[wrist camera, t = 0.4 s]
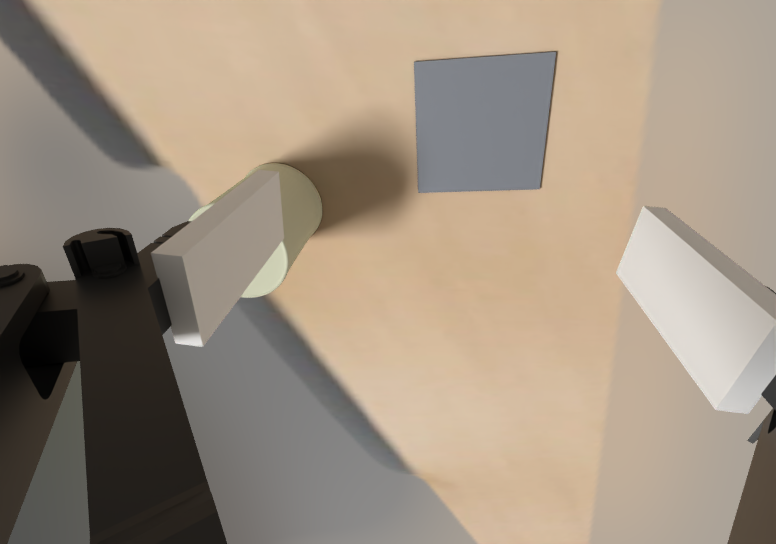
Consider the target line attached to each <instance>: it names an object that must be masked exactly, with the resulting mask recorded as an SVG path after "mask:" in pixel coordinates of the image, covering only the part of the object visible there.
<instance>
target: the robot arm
mask: <svg viewBox="0 0 776 544" xmlns="http://www.w3.org/2000/svg"><path fill="white" fill-rule="evenodd" d="M283 239H284V230H283V217H282V205H281V192H280V179H279V172H277V171H266V170H258V171H257V172H255V173H254V174H253V175H251V176H250V177H249V178H248V179H246V180H245V181H244V182H242V183H241V184H240V185H238V186H237V187H236V188H235V189H233V190H232V191H231V192H229V193H228V194H227V195H225V196H224V197H223V198H222V199H220V200H219V201H218V202H216V203H215V204H214V205H212V206H211V207H210V208H209V209H207V210H206V211H205V212H203V213H202V214H201V215H199V216H198V217H197V218H196V219H194V220H193V221H187V222H185V223H182V224H180V225H177V226H175V227H172V228H171V229H170V230H168V231H167V232H166V233H164V234H163V235H162V237H159V238H158V239H156V240H155V241H154V243H151V244H149V245H148V246H147V247H145V248H144V249H143V250H141V251H140V252H139V253H137V251H136V248H135V245H134V241H133V238H132V235H131V233H130V232H129V231H127V230H124V229H120V228H103V229H95V230H91V231H86V232H83V233H80V234H78V235H75V236H73V237H71V238H70V239H68V240H67V241H66V242H65V243H64V245H63V248H64V250H65V253H66V255H67V258H68V261H69V263H70V266H71V268H72V271H73V273H74V276H75V279H76V280H70V281H57V282H56V281H55V282H47V281H46V279H45V277H44V275H43V272H42V270H41V269H40V268H39V267H38V266H35V265H30V264H15V265H9V266H8V265H4V266H0V544H7V543H8V540H9V537H10V535H11V532H12V530H13V527H14V524H15V522H16V519H17V517H18V514H19V512H20V509H21V506H22V504H23V501H24V498H25V496H26V493H27V491H28V488H29V486H30V483H31V480H32V478H33V475H34V472H35V470H36V467H37V465H38V462H39V459H40V457H41V454H42V452H43V449H44V447H45V444H46V441H47V439H48V436H49V434H50V431H51V428H52V426H53V423H54V420H55V418H56V415H57V413H58V410H59V408H60V405H61V402H62V400H63V397H64V395H65V392H66V389H67V387H68V384H69V381H70V378H71V376H72V374H73V371H74V368H75V366H76V363H77V361H80V366H81V367H80V368H81V386H82V402H83V419H84V420H83V421H84V439H85V456H86V474H87V491H88V509H89V525H90V526H89V527H90V544H227V542H226V538H225V535H224V532H223V529H222V525H221V522H220V519H219V516H218V512H217V509H216V506H215V503H214V500H213V497H212V494H211V492H210V488H209V485H208V482H207V479H206V476H205V472H204V469H203V466H202V463H201V459H200V457H199V453H198V450H197V447H196V443H195V440H194V437H193V433H192V430H191V427H190V424H189V421H188V418H187V414H186V411H185V408H184V405H183V401H182V398H181V395H180V391H179V388H178V385H177V382H176V379H175V375H174V372H173V369H172V366H171V362H170V359H169V356H168V353H167V349H166V346H165V343H164V340H163V336H162V335H163V334H164V333H165V332H166V331H167V329H168V328H169V327H170V326H171V329H172V333H173V336H174V340H175V343H177V344H184V345H192V346H201V347H203V346H204V345H205V343H206V342H207V341H208V339H209V338H210V337H211V335H212V334H213V333H214V331H215V330H216V329H217V327H218V326H219V325H220V323H221V322H222V321H223V319H224V318H225V317H226V315H227V314H228V313H229V311H230V310H231V309H232V307H233V306H234V305H235V303H236V302H237V301H238V299H239V298H240V297H241V295H242V294H243V293H244V291H245V290H246V289H247V287H248V286H249V285H250V283H251V282H252V281H253V279H254V278H255V277H256V275H257V274H258V273H259V271H260V270H261V269H262V267H263V266H264V265H265V263H266V262H267V261H268V259H269V258H270V257H271V255H272V254H273V253H274V251H275V250H276V249H277V247H278V246H279V245H280V243H281V242H282V241H283ZM616 274H617V275H618V276H619V278H620V279H621V281H622V282H623V283H624V285H625V286H626V287H627V289H628V290H629V291H630V293H631V294H632V296H633V297H634V298H635V300H636V301H637V302H638V304H639V305H640V307H641V308H642V309H643V311H644V312H645V314H646V315H647V316H648V318H649V319H650V320H651V322H652V323H653V324H654V326H655V327H656V329H657V330H658V331H659V333H660V334H661V335H662V337H663V338H664V340H665V341H666V342H667V344H668V345H669V346H670V347H671V349H672V350H673V352H674V353H675V355H676V356H677V358H678V359H679V360H680V361H681V363H682V364H683V366H684V367H685V369H686V370H687V371H688V373H689V374H690V375H691V377H692V378H693V379H694V381H695V382H696V384H697V385H698V386H699V388H700V389H701V391H702V392H703V393H704V394H705V396H706V397H707V399H708V400H709V402H710V403H711V404H712V405H713V407H714V408H715V410H721V411H729V412H737V413H746V414H748V413H749V412H750V411H751V409H752V408H753V407H754V405H755V404H756V403H757V402H758V400H759V399H760V398H761V396H763V397H764V398H765V399H766V400H767V401H768V403H769V404H770V405H771V406H772V407H773V409H772V410H771V412H770V413H769V414H768V416H767V417H766V418H765V419H764V420H763V422H762V423H761V424H760V425H759V427H758V428H757V429H756V431H755V432H754V433H753V434H752V435H751V437H750V438H749V439H748V441H749V442H751V443H754V442H755V441H756V440H758V442H757V445H756V449H755V452H754V455H753V459H752V462H751V466H750V469H749V472H748V476H747V479H746V483H745V486H744V490H743V493H742V496H741V500H740V503H739V507H738V510H737V513H736V517H735V520H734V523H733V527H732V530H731V534H730V537H729V540H728V544H776V293H775V292H774V291H773V290H771V289H770V288H768V287H766V286H765V285H763V284H762V283H761V282H759V281H758V280H757V279H756V278H754V277H753V276H752V275H751V274H749V273H748V272H747V271H745V270H744V269H743V268H742V267H740V266H739V265H737V264H736V263H735V262H734V261H733V260H731V259H730V258H729V257H728V256H726V255H725V254H724V253H723V252H721V251H720V250H719V249H717V248H716V247H715V246H714V245H712V244H711V243H710V242H708V241H707V240H706V239H705V238H703V237H702V236H701V235H699V234H698V233H697V232H696V231H694V230H693V229H692V228H691V227H689V226H688V225H687V224H685V223H684V222H683V221H682V220H680V219H679V218H678V217H676V216H675V215H674V214H673V213H671V212H670V211H669V210H668V209H666V208H660V207H649V206H643V208H642V210H641V213H640V215H639V218H638V220H637V223H636V225H635V227H634V230H633V232H632V235H631V237H630V240H629V242H628V245H627V247H626V250H625V252H624V254H623V257H622V259H621V262H620V264H619V267H618V269H617V272H616Z"/></svg>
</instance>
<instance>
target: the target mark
mask: <svg viewBox="0 0 776 544" xmlns="http://www.w3.org/2000/svg"><path fill="white" fill-rule="evenodd" d="M555 57H556V52H545V53H531V54H517V55H503V56H489V57H475V58H461V59H447V60H433V61H418V62H414V75H415V106H416V136H417V167H418V193H429V192H462V191H496V190H530V189H540V182H541V174H542V165H543V157H544V149H545V140H546V132H547V124H548V116H549V107H550V99H551V91H552V82H553V74H554V66H555Z"/></svg>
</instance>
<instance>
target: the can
mask: <svg viewBox="0 0 776 544" xmlns="http://www.w3.org/2000/svg"><path fill="white" fill-rule="evenodd" d="M258 170H266V171H277V172H279V179H280V192H281V205H282V217H283V230H284V239H283V241H282V242H281V243H280V245H279V246H278V247H277V249H276V250H275V251H274V253H273V254H272V255H271V257H270V258H269V259H268V261H267V262H266V263H265V265H264V266H263V267H262V269H261V270H260V271H259V273H258V274H257V275H256V277H255V278H254V279H253V281H252V282H251V283H250V285H249V286H248V287H247V289H246V290H245V291H244V293H243V294H242V295H241V297H248V298H249V297H259V296H263V295H266V294H268V293H270V292H272V291H274V290H275V289H276V288H278V287H279V286H280V285H281V283H282V282H283V281H284V279H285V277H286V275H287V273H288V271H289V269H290V267H291V266H292V264H293V263H294V261H295V259H296V258H297V256H298V255H299V253H300V251H301V250H302V248H303V247H304V245H305V244H306V242H307V241H308V239H309V238H310V236H311V235H313V233H314V232H315V231H316V230H317V228H318V227H319V224H320V222H321V218H322V202H321V198H320V195H319V193H318V191H317V189H316V187H315V186H314V184H313V183H312V182H311V181H310V180H309V179H308V177H306V176H305V175H304V174H303V173H301V172H300V171H298V170H297V169H295V168H293V167H291V166H288V165H284V164H278V163H270V164H264V165H261V166H258V167H256V168H254V169H253V170H252V171H250V172H249V173H248V174H247V175H246V177H245V178H244V179H242V180H241V181H240V182H238V183H237V184H236V185H234V186H233V187H232V188H230V189H229V190H227V191H226V192H225V193H223V194H222V195H221V196H219V197H218V198H216V199H215V200H213V201H212V202H211V203H209V204H208V205H205V206H203V207H202V208H200V209H199V210H197V211H196V212H195V213H194V214H193V215H192V217H191V218H190V219H189V221H193V220H194V219H196V218H197V217H198V216H199V215H201V214H202V213H203V212H205V211H206V210H207V209H209V208H210V207H211V206H212V205H214V204H215V203H216V202H218V201H219V200H220V199H222V198H223V197H224V196H225V195H227V194H228V193H229V192H231V191H232V190H233V189H235V188H236V187H237V186H238V185H240V184H241V183H242V182H244V181H245V180H246V179H248V178H249V177H250V176H251V175H253V174H254V173H255V172H257V171H258Z"/></svg>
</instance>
